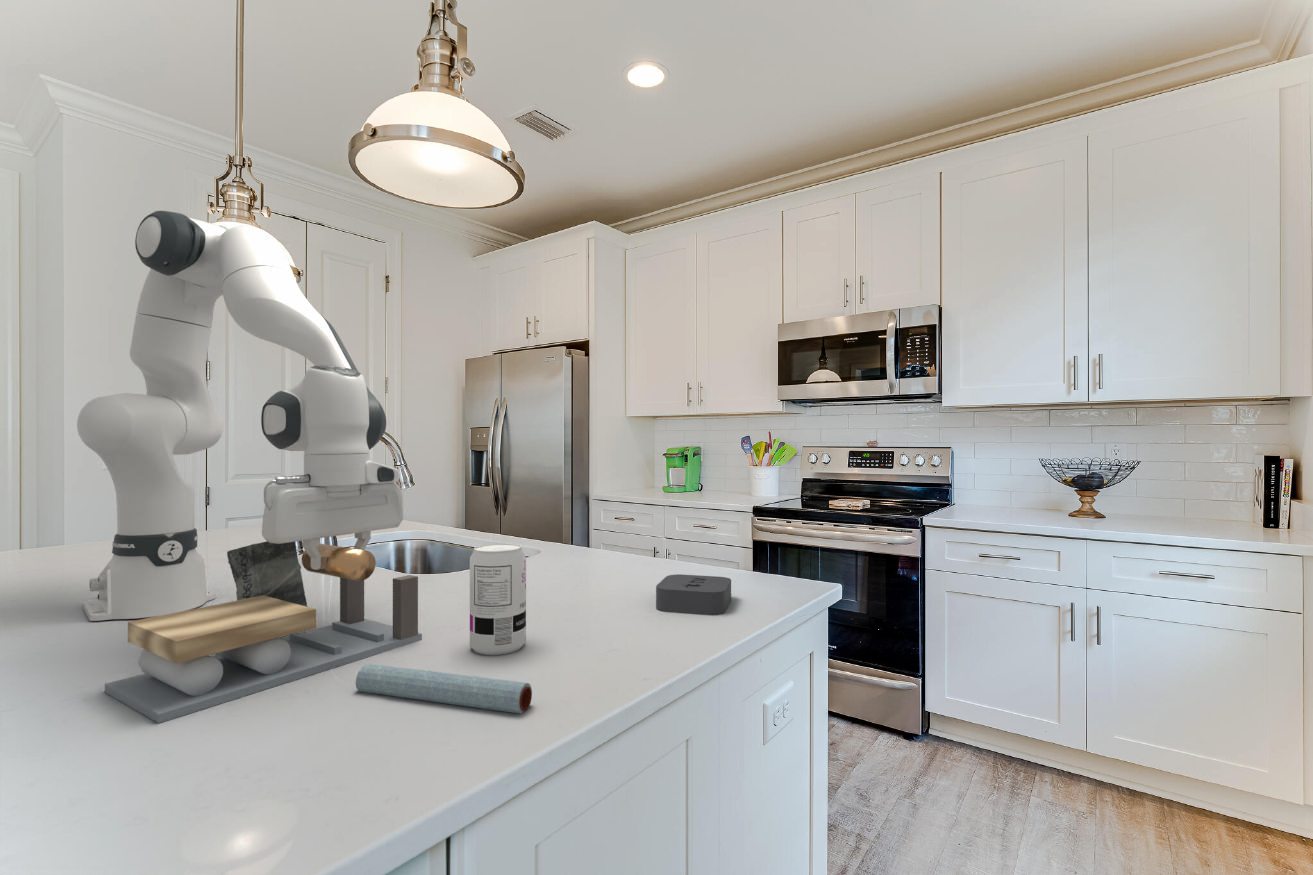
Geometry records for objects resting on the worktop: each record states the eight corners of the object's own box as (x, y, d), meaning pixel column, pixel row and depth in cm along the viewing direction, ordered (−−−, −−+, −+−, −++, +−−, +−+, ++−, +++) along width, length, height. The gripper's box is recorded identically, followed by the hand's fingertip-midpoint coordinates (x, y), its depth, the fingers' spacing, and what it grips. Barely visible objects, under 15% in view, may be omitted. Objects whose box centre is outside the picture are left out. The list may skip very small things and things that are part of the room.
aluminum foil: (533, 707, 75) (533, 678, 75) (504, 732, 68) (504, 700, 68) (373, 686, 81) (374, 659, 81) (333, 707, 75) (333, 678, 75)
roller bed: (104, 691, 78) (104, 611, 78) (361, 623, 107) (361, 564, 107) (158, 723, 69) (158, 632, 69) (421, 639, 98) (421, 575, 98)
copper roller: (301, 574, 96) (301, 545, 96) (329, 569, 100) (329, 541, 100) (347, 583, 90) (347, 552, 90) (375, 577, 94) (375, 548, 93)
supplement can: (458, 647, 94) (458, 547, 94) (506, 635, 101) (506, 541, 101) (488, 660, 89) (488, 554, 89) (536, 646, 95) (536, 547, 95)
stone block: (238, 641, 98) (262, 635, 96) (220, 550, 99) (243, 543, 97) (289, 624, 106) (312, 619, 105) (272, 541, 108) (294, 534, 106)
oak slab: (127, 641, 79) (127, 622, 79) (263, 612, 93) (263, 595, 93) (176, 663, 72) (176, 641, 72) (316, 627, 85) (316, 609, 85)
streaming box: (723, 618, 110) (723, 593, 110) (652, 613, 114) (652, 588, 114) (732, 600, 123) (732, 577, 123) (669, 596, 126) (669, 573, 126)
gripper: (276, 477, 84) (276, 581, 84) (408, 470, 102) (409, 556, 102) (252, 476, 88) (253, 575, 88) (384, 469, 105) (385, 552, 105)
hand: (338, 565), depth 95 cm, fingers closed on copper roller, 4 cm apart
